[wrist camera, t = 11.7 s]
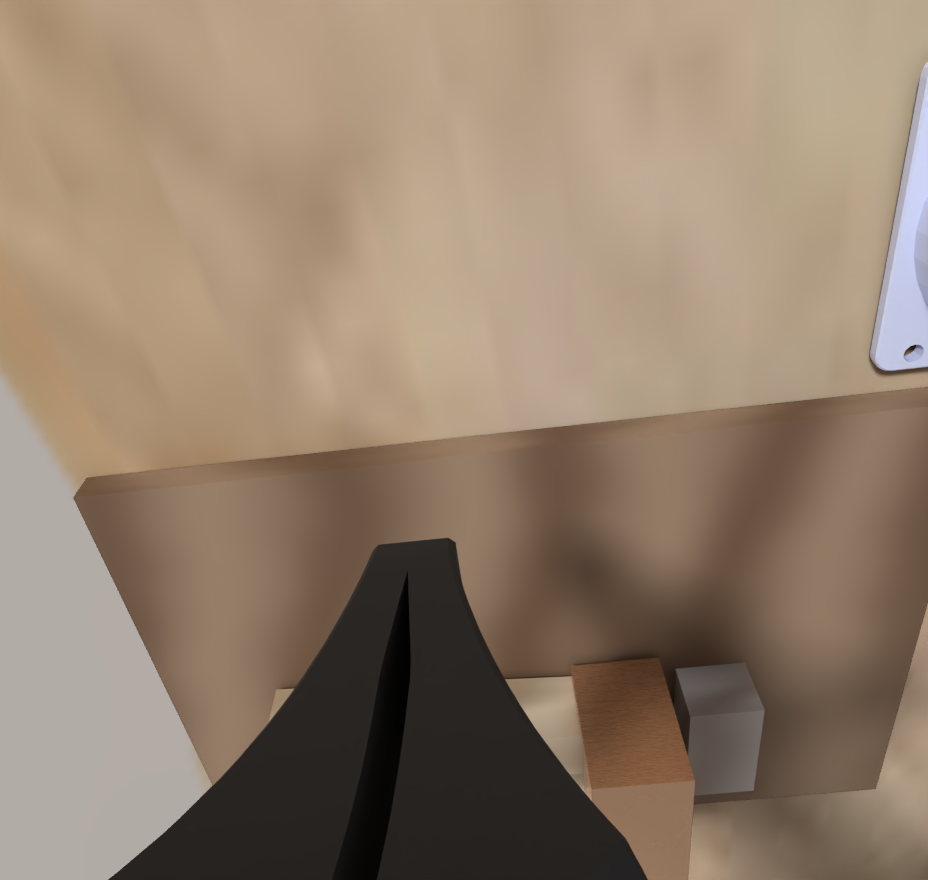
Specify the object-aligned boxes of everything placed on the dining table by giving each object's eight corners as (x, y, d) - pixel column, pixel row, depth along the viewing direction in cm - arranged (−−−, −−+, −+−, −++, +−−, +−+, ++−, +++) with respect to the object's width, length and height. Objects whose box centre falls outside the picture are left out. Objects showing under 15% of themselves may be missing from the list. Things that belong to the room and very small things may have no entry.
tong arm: (650, 672, 27) (666, 732, 25) (645, 710, 28) (661, 770, 26) (276, 689, 27) (262, 749, 25) (285, 726, 28) (273, 786, 26)
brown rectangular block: (658, 657, 26) (695, 780, 22) (655, 772, 30) (686, 896, 26) (570, 665, 26) (591, 789, 23) (577, 778, 30) (596, 903, 26)
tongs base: (964, 383, 22) (1045, 452, 19) (864, 766, 32) (908, 853, 29) (86, 477, 24) (32, 556, 21) (245, 819, 33) (224, 907, 30)
